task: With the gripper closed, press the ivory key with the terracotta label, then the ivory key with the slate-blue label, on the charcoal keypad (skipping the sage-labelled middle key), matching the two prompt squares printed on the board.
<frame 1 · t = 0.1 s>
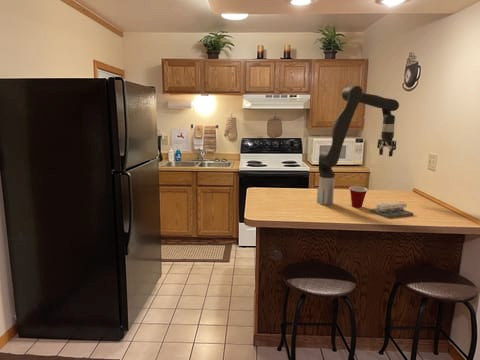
hand: (385, 155, 225), 29 cm above the countertop, fingers open, 8 cm apart
key A: (382, 207, 192), point 4 cm above the countertop, slide at 0.0 cm
keypad board: (390, 213, 195), on the countertop
key B: (391, 206, 194), point 4 cm above the countertop, slide at 0.0 cm
plastic cup: (356, 207, 209), on the countertop
key C: (400, 205, 197), point 4 cm above the countertop, slide at 0.0 cm
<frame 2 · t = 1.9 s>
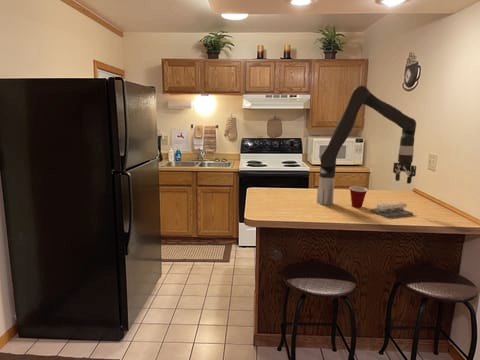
hand: (403, 182, 194), 18 cm above the countertop, fingers open, 7 cm apart
nothing on the countertop moved.
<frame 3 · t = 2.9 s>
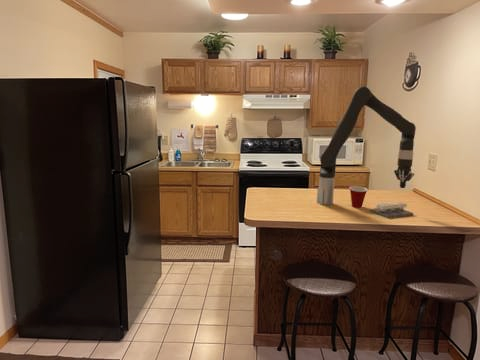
hand: (402, 187, 195), 15 cm above the countertop, fingers closed
nothing on the countertop moved.
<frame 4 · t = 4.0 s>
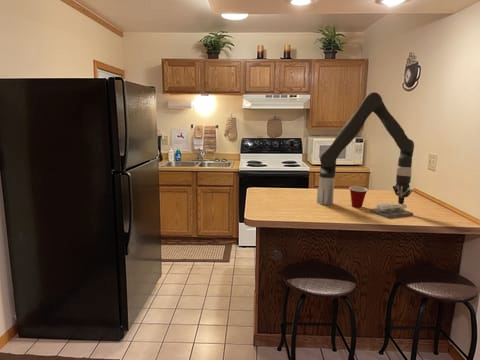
hand: (400, 203, 196), 5 cm above the countertop, fingers closed
key C: (400, 206, 197), point 3 cm above the countertop, slide at 0.8 cm, touching gripper
everything else where it was.
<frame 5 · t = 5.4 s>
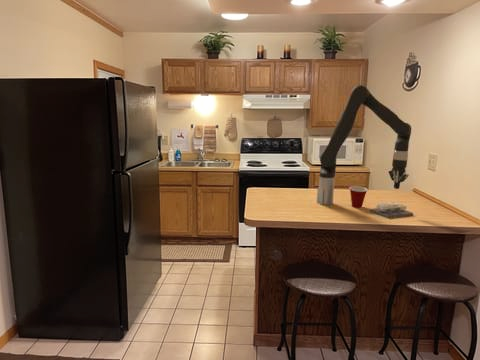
hand: (396, 188, 194), 14 cm above the countertop, fingers closed
key C: (400, 207, 197), point 3 cm above the countertop, slide at 1.4 cm
everything else where it was.
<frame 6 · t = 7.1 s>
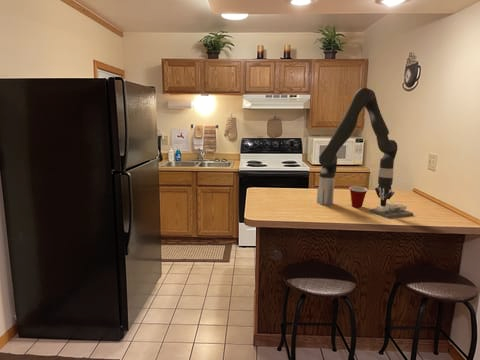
hand: (383, 205, 192), 5 cm above the countertop, fingers closed
key A: (382, 209, 192), point 3 cm above the countertop, slide at 1.0 cm, touching gripper
everything else where it was.
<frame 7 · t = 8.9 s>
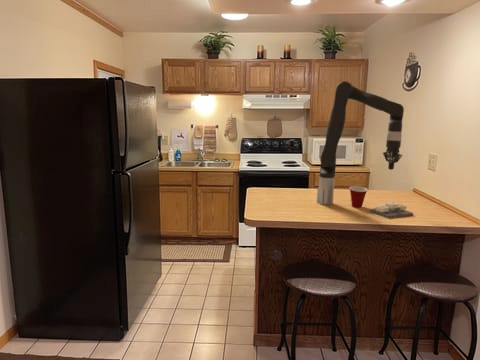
hand: (390, 169, 196), 25 cm above the countertop, fingers closed
key A: (382, 209, 193), point 3 cm above the countertop, slide at 1.4 cm
everything else where it was.
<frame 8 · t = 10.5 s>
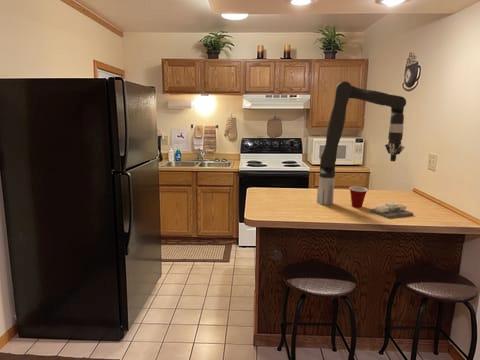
hand: (392, 161, 200), 29 cm above the countertop, fingers closed
nothing on the countertop moved.
at the end: key C slide at 1.4 cm; key A slide at 1.4 cm; key B slide at 0.0 cm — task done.
